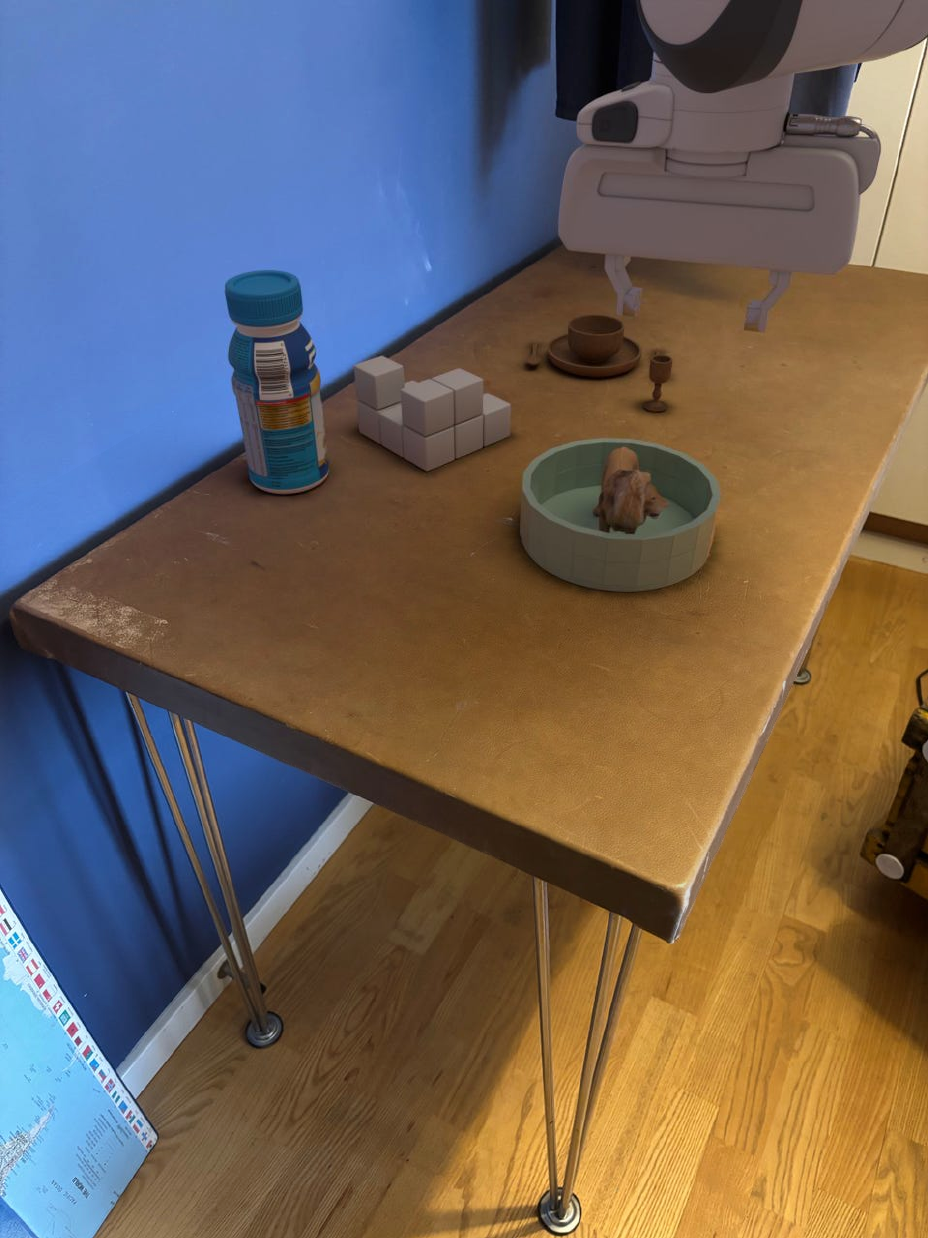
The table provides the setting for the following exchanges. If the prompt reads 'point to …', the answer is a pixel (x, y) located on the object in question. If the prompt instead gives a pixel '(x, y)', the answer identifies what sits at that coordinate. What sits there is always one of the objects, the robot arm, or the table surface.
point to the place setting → (603, 353)
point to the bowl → (613, 561)
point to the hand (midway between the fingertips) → (690, 321)
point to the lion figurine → (626, 494)
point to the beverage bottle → (276, 383)
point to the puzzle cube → (427, 413)
